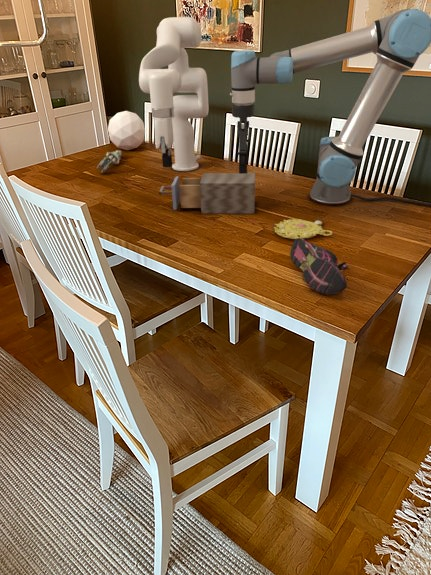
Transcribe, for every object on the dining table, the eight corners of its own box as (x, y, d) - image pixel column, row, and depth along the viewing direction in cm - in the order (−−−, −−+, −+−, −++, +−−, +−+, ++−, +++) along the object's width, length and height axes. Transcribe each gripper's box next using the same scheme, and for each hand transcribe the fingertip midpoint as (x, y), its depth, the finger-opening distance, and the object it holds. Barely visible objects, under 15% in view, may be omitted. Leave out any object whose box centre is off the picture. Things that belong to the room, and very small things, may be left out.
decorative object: (286, 211, 157) (342, 219, 147) (286, 217, 158) (341, 226, 148) (260, 233, 142) (319, 243, 133) (260, 240, 144) (319, 251, 134)
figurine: (101, 154, 197) (119, 141, 223) (91, 167, 200) (110, 152, 227) (114, 165, 199) (130, 151, 225) (103, 178, 203) (121, 162, 229)
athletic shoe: (333, 284, 107) (372, 276, 111) (293, 223, 119) (330, 218, 123) (316, 311, 116) (353, 303, 120) (281, 252, 127) (315, 246, 132)
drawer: (159, 209, 164) (156, 185, 158) (163, 199, 172) (161, 176, 167) (222, 210, 162) (221, 185, 157) (224, 200, 170) (223, 176, 165)
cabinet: (201, 213, 162) (199, 183, 156) (204, 201, 172) (203, 173, 166) (254, 213, 161) (255, 183, 155) (254, 202, 170) (255, 173, 164)
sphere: (121, 160, 244) (102, 128, 241) (152, 143, 246) (133, 111, 243) (119, 152, 225) (98, 116, 222) (153, 133, 227) (132, 97, 225)
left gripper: (156, 108, 156) (161, 160, 166) (147, 117, 144) (153, 173, 153) (177, 108, 156) (180, 160, 165) (170, 117, 143) (174, 173, 153)
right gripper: (233, 97, 157) (234, 157, 168) (230, 111, 136) (231, 178, 147) (254, 96, 156) (254, 156, 168) (254, 110, 135) (253, 178, 147)
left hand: (167, 166), depth 159 cm, fingers closed
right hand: (243, 167), depth 157 cm, fingers open, 13 cm apart
